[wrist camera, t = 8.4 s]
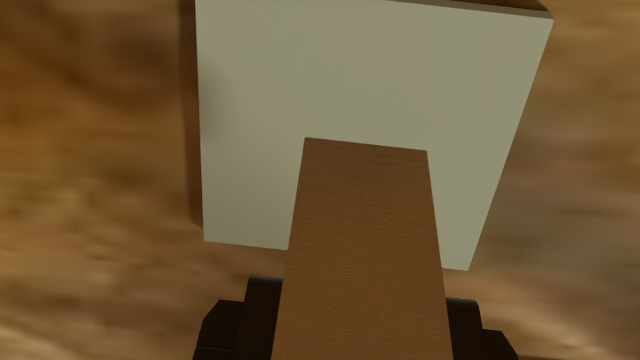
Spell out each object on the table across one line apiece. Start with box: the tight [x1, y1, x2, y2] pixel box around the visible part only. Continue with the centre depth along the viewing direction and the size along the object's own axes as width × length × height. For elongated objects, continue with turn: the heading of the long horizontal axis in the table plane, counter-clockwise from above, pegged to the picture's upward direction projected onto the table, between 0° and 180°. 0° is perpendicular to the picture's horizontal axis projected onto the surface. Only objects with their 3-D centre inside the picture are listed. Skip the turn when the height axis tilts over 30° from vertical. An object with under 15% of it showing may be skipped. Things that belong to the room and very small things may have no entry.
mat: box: [195, 0, 554, 271], centre depth 22 cm, size 11×11×1 cm
